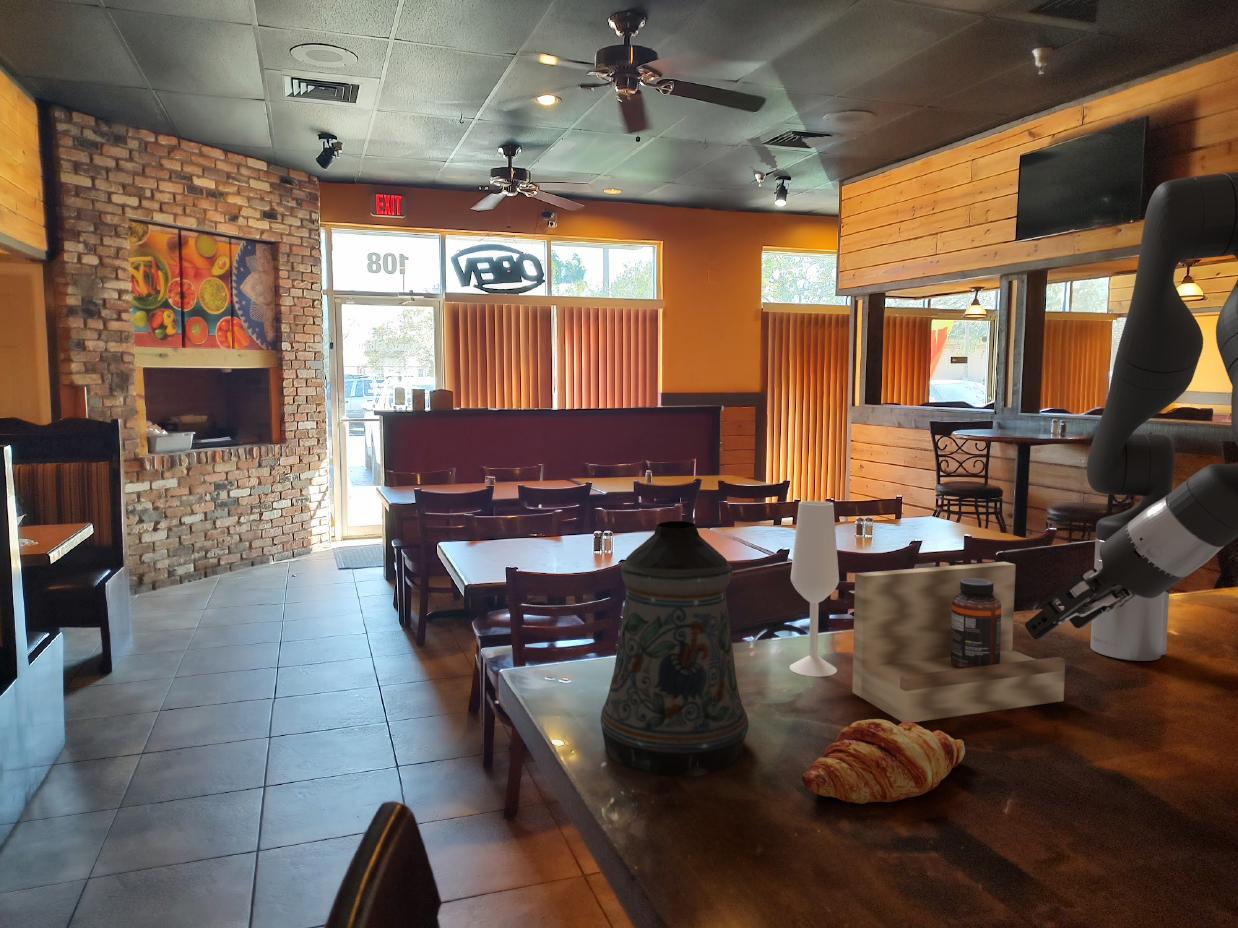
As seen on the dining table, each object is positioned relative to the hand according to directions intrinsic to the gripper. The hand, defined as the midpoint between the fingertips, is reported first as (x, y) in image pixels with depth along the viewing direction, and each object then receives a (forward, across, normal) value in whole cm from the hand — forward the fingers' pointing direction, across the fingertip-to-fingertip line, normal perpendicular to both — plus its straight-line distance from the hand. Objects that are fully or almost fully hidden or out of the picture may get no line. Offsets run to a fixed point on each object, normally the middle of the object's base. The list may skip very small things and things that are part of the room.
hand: (1052, 626), depth 99 cm
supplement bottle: (+13, 0, -2) cm, 13 cm away
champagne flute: (+29, +9, -12) cm, 33 cm away
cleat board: (+16, +2, 0) cm, 16 cm away
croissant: (+9, +28, +9) cm, 31 cm away
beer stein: (+23, +41, -6) cm, 47 cm away
